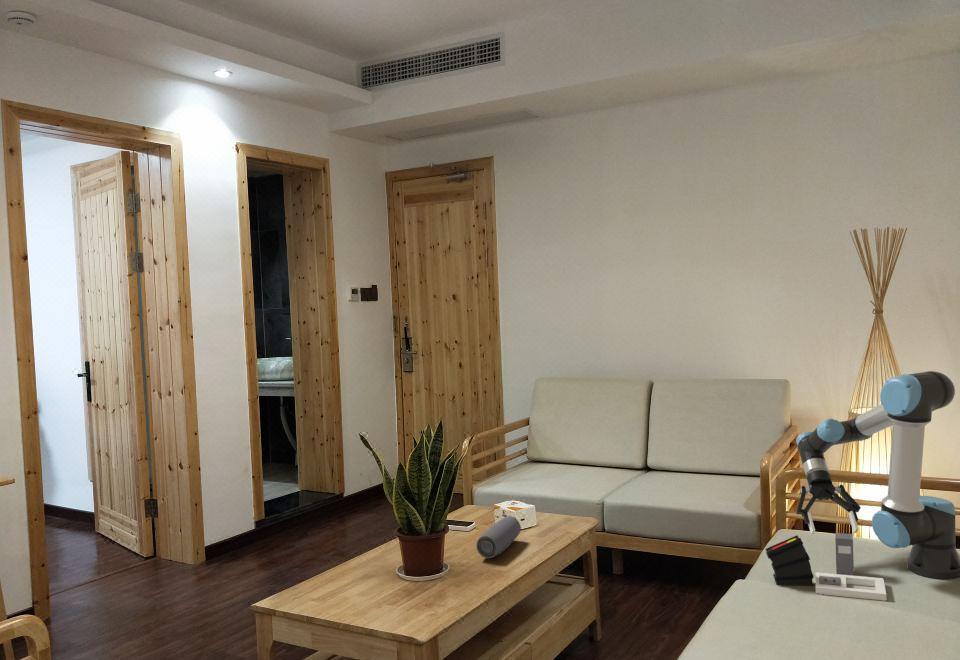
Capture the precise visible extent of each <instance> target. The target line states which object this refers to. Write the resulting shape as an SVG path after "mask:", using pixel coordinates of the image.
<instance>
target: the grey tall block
mask: <svg viewBox="0 0 960 660" xmlns="http://www.w3.org/2000/svg"><path fill="white" fill-rule="evenodd" d="M834 534H835V535H834V538H835V539H834V541H835V542H834V543H835V568H836V570H835V571H836V573H835V574H841V575H852V576H855V572H854V571H855V569H854V568H855V565H854V560H855V559H854V537H853V534H852V533H841V532H835V533H834Z"/></svg>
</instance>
